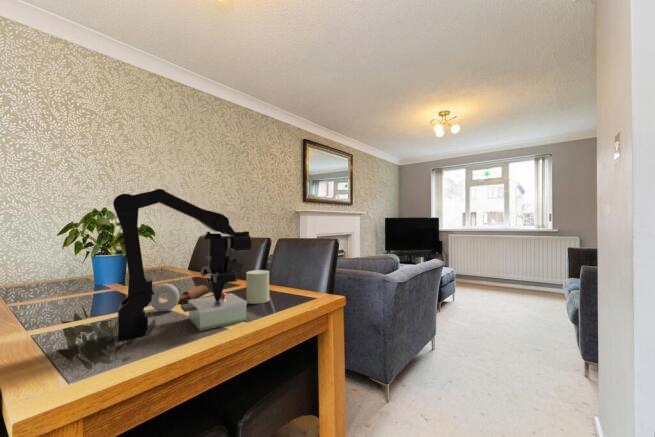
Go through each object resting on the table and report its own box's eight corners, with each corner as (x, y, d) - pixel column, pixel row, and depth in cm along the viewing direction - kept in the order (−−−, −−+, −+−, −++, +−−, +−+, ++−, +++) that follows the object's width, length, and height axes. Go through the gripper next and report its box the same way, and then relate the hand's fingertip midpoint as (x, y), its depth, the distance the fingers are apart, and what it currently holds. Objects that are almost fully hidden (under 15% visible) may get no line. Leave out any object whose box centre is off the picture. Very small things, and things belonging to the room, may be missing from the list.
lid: (188, 316, 82) (188, 308, 82) (177, 304, 93) (177, 297, 94) (247, 304, 93) (247, 297, 93) (231, 295, 104) (231, 289, 104)
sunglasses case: (189, 292, 130) (196, 279, 131) (202, 300, 131) (210, 287, 131) (169, 304, 112) (177, 289, 113) (184, 313, 113) (193, 298, 113)
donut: (147, 313, 101) (147, 284, 101) (151, 310, 104) (151, 282, 104) (177, 312, 102) (177, 283, 102) (181, 309, 106) (181, 281, 106)
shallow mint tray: (200, 330, 84) (200, 313, 84) (188, 318, 95) (188, 303, 95) (246, 320, 93) (246, 304, 93) (231, 310, 104) (231, 296, 104)
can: (267, 303, 112) (267, 272, 112) (243, 304, 112) (243, 272, 112) (271, 297, 121) (271, 268, 121) (249, 297, 121) (249, 269, 121)
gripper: (253, 253, 92) (252, 302, 92) (232, 249, 107) (232, 291, 106) (217, 255, 85) (216, 308, 85) (200, 250, 100) (200, 296, 100)
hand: (217, 300), depth 94 cm, fingers closed
